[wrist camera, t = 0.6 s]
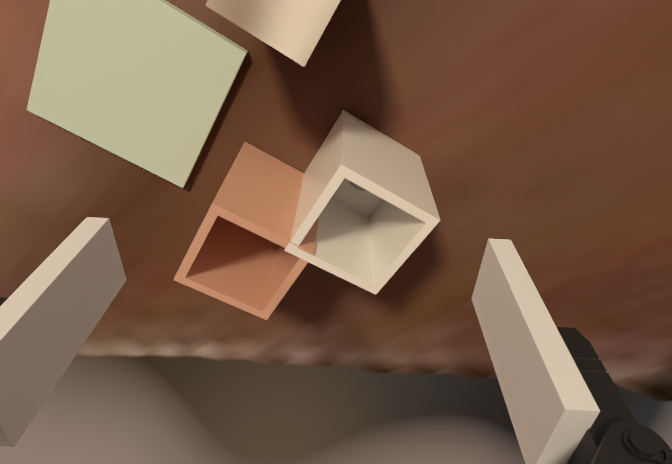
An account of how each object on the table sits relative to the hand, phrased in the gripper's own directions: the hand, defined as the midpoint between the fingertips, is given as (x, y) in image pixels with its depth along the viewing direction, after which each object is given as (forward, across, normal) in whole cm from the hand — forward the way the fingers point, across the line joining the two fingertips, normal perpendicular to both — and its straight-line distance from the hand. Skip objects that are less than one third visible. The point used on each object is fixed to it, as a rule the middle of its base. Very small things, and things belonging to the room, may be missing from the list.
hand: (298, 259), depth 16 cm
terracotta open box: (+24, +6, +11) cm, 27 cm away
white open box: (+24, -3, +8) cm, 26 cm away
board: (+24, +16, +1) cm, 29 cm away
